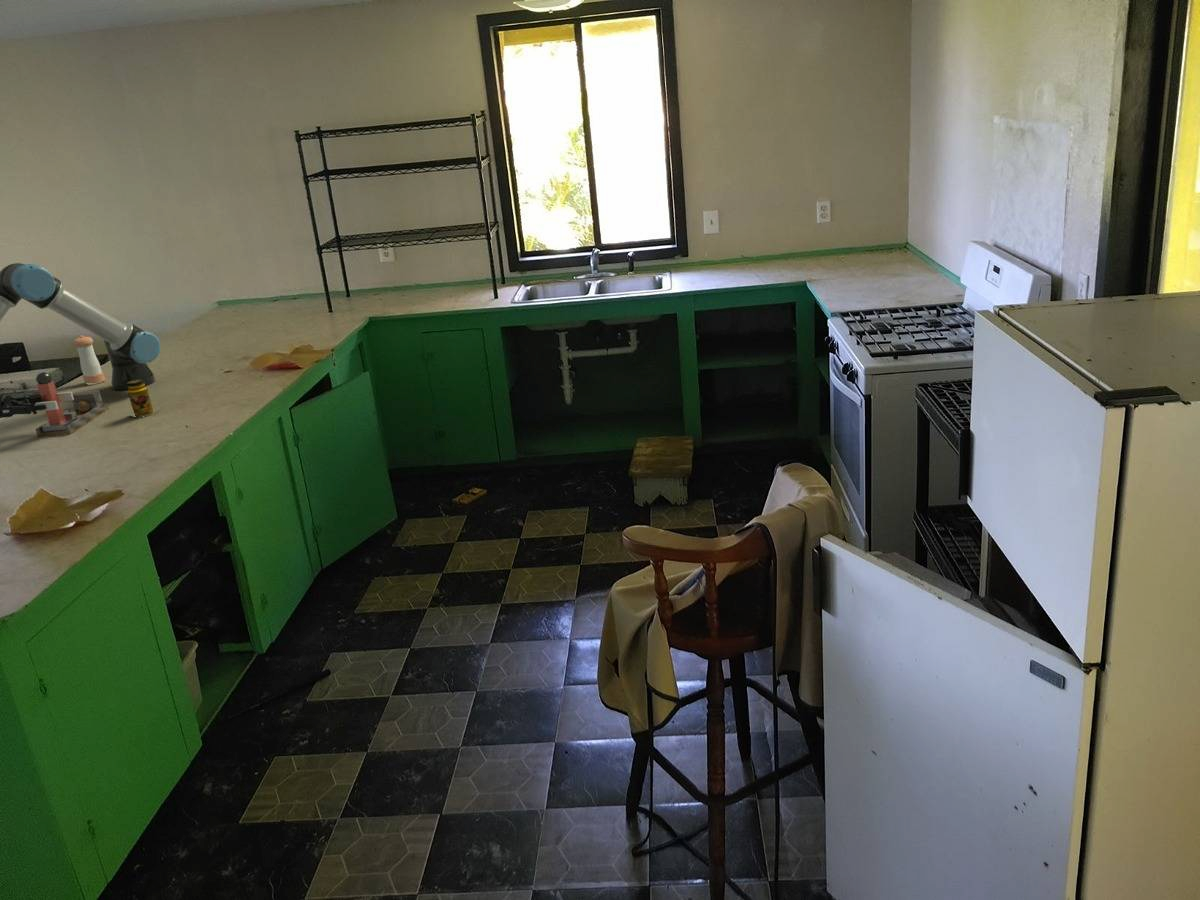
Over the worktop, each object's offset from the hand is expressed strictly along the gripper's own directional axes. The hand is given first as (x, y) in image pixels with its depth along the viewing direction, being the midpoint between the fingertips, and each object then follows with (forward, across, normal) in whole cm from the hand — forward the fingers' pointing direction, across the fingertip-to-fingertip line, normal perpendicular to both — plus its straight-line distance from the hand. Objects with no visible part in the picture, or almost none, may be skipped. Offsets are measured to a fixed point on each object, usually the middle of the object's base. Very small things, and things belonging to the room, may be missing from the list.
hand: (64, 400), depth 308 cm
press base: (-5, -9, -10) cm, 15 cm away
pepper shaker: (-24, -62, -11) cm, 67 cm away
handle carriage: (-5, -2, -9) cm, 10 cm away
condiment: (+18, -12, -11) cm, 24 cm away
